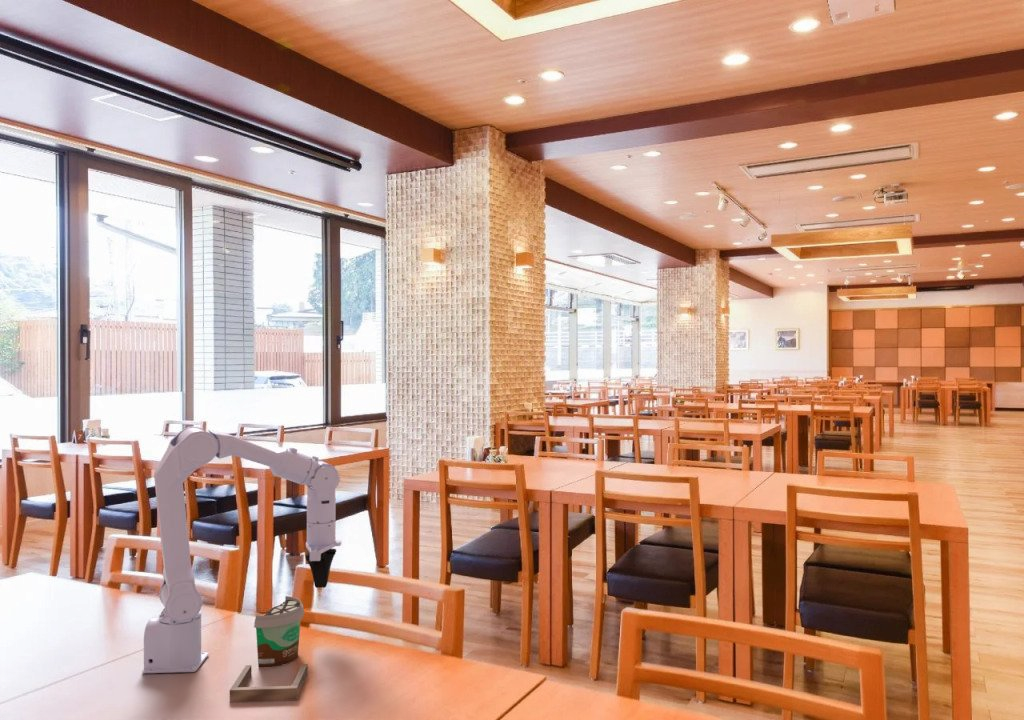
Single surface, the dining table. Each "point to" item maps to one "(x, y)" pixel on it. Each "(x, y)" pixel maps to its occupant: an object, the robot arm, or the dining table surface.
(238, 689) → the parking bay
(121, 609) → the dining table surface
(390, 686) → the dining table surface
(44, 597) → the dining table surface
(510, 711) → the dining table surface
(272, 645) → the food container
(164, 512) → the robot arm
